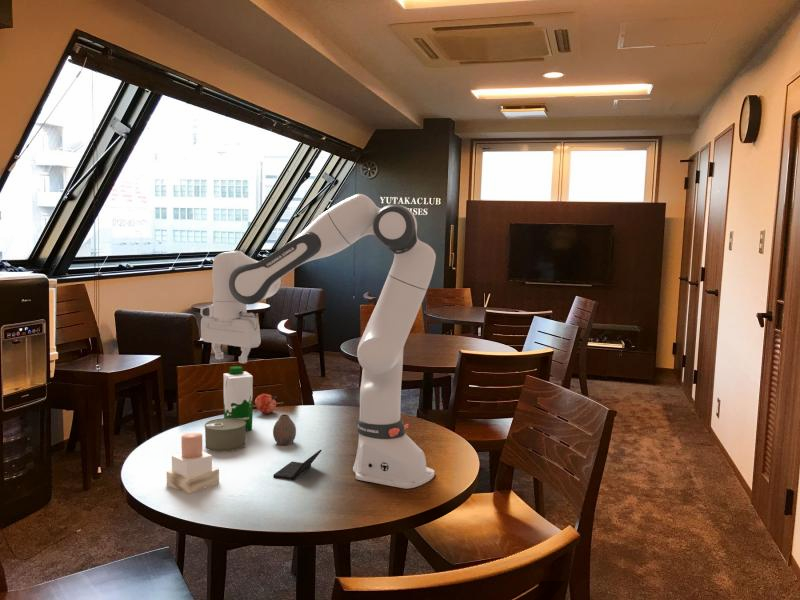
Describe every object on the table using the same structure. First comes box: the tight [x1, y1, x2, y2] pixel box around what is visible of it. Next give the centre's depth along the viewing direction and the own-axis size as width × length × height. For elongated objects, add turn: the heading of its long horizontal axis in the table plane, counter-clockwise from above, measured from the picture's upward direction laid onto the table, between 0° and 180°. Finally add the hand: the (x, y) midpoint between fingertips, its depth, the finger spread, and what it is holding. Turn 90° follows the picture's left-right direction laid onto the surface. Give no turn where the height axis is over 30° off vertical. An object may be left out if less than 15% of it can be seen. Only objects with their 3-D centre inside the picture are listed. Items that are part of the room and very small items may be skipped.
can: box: [204, 417, 246, 453], centre depth 189 cm, size 12×12×7 cm
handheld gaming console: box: [272, 449, 322, 481], centre depth 169 cm, size 12×7×10 cm
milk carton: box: [223, 365, 254, 432], centre depth 205 cm, size 9×9×20 cm
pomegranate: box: [254, 393, 277, 415], centre depth 224 cm, size 7×7×10 cm
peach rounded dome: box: [180, 432, 203, 459], centre depth 159 cm, size 5×5×5 cm
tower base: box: [166, 466, 220, 495], centre depth 160 cm, size 9×9×4 cm
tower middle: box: [171, 450, 213, 478], centre depth 159 cm, size 7×7×4 cm
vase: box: [272, 413, 297, 446], centre depth 192 cm, size 7×7×9 cm
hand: (231, 360), depth 173 cm, fingers open, 8 cm apart
